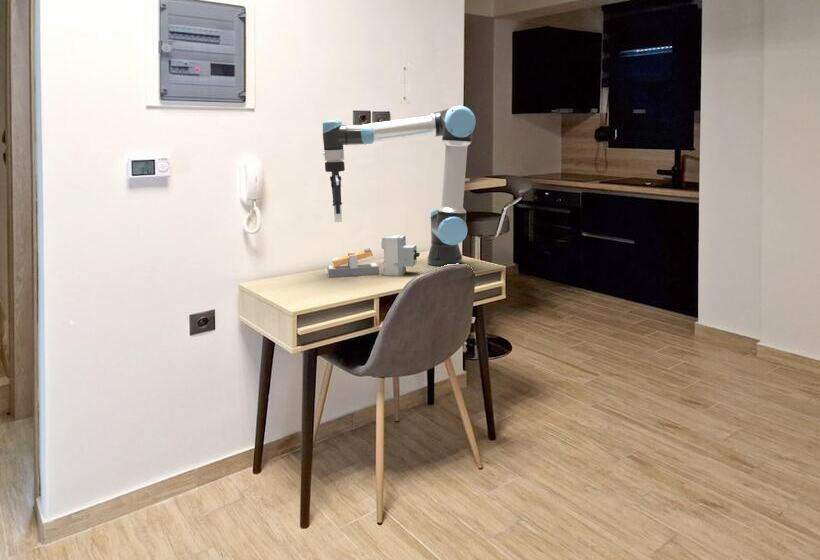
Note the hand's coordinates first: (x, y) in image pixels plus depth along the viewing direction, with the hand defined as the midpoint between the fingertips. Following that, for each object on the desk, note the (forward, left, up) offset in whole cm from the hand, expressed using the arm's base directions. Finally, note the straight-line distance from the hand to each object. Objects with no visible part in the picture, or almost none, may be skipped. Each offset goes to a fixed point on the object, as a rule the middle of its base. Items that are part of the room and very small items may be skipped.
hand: (338, 221), depth 256 cm
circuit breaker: (-24, +6, -22) cm, 33 cm away
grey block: (-5, +1, -21) cm, 22 cm away
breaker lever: (-5, +1, -16) cm, 17 cm away
